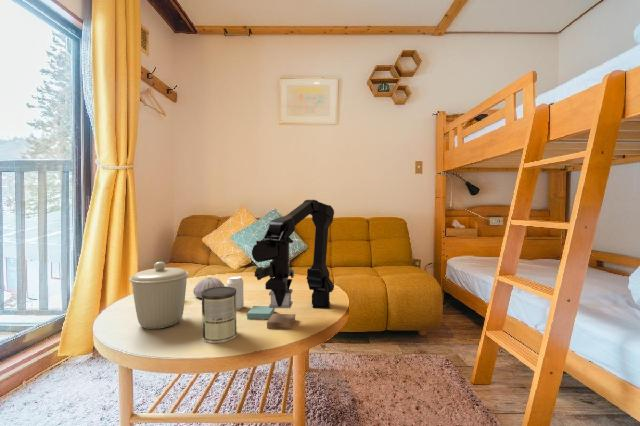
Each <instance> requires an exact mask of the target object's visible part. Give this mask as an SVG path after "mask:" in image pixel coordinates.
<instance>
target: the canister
mask: <svg viewBox="0 0 640 426" xmlns="http://www.w3.org/2000/svg"><path fill="white" fill-rule="evenodd" d="M189 274H190V272H188V271H187V270H184V268H180V267H166V263H165V262H164V261H157V262H155V263H153V268H150V269H144V270H141V271H138V272H136V273H134V274H133V275H132V276H130V277H129V278H128V281H130V283H131V287H132V295H133V301H134V307H135V312H136V318H137V322H138V324H139V325H140V327H142V328H144V329H147V330H148V329H149V330H150V329H151V330H152V329H153V330H154V329H156V330H157V329H164V328H168V327H172V326H174V325H176V324H177V323H179V322H180V321H181V320H182V318H183V315H184V309H185V300H186V292H187V291H186V290H187V279H188V278H187V277H189Z"/></svg>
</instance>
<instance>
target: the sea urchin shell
mask: <svg viewBox="0 0 640 426" xmlns="http://www.w3.org/2000/svg"><path fill="white" fill-rule="evenodd" d="M213 287H226V285H224V283H223V282H222V280H220V279H219V278H217V277H213V276H212V277H211V276H210V277H205V278H203V279H201V280H200V281H199V282H197V284H196V285H195V286H194V288H193V290H192V291H193V295H194V296H195V297H197V298H199V299H202V296H201V292H202V291H204V290H206V289H209V288H213Z"/></svg>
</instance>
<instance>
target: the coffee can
mask: <svg viewBox="0 0 640 426" xmlns="http://www.w3.org/2000/svg"><path fill="white" fill-rule="evenodd" d="M201 296H202V298H201V323H202V324H201V326H202V327H201V328H202V330H201V331H202V337H201V338H202V340H203V342H206V343H208V344H221V343H225V342H229V341H231V340H233V339H235V338H236V337H237V335H238V332H237V331H238V330H237V329H238V327H237V310H236V289H235V288H233V287H227V286H225V287H213V288H209V289H206V290H204V291H202V292H201Z"/></svg>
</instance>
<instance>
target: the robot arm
mask: <svg viewBox="0 0 640 426" xmlns="http://www.w3.org/2000/svg"><path fill="white" fill-rule="evenodd" d="M309 215H311V220H312V223H313V225H314V227H315V232H314V244H313V245H314V247H313V259H312V260H313V261H312V265H311V267H310V268H309V267H308V268H307V270H306V271H307V272H306V274H307V275H306V283H307V285H308V289H309V290H310V291H311V290H312V291H313V292H312V293H311V305H312V308H314V309H317V308H318V309H330V307H331V302H330V294H331V293H333V291H334V290H335V289H334V288H335V284H334V283H333V281H332V280H331V278H330V271H329V269H328V267H327V255H328V254H327V251H328V237H329V236H328V235H329V234H328V233H329V228H330V226H331V225H332V223H333V222H334V221H333V220H334V215H335V210H334V208H333V207H332V205H329V204H326V203H323V202H320V201H318V200H316V199H306V200H303V202H302V203H300V204H299V205H298V206H297V207H296V208H294V209H293V210H291V211H290V212H289V213H287V214H286V215H284V216H279V217H277V218H273V219H272V220H270V222H269V223H268V227H267V228H266V231H265V233H264V235H263V236H262V239H257V240H256V244H255V245H253V247H252V249H251V256H252V258H253V260H254V261H255V262H256V263H262V262H267V261H270V262H269V264H268V265H264V266H259V267H256V268H255V270H254V272H253V273H254V277H255V278H256V280H257V281H260V280H262V279H264V278H267V277H269V279H268V280H266V282H265V287H264V288H265V290H269V291H271V290H272V291H273V292H274V295H275V298H276V302H277V305H278V307H281V305H282V303H283V300H284V297H285V294H286V291H287V289H290V287H291V284H292V281H293V278H294V277H295V271H294V269H292V268H290V263H291V259H290V244H293V243H294V240H293V239H292V238H291V235H292V234H293V233H294V232H295V231H296V226H298V224H299V223H300V222H302V221H303V220H304V219H305V218H307V217H308V216H309ZM289 277H291V278H289Z"/></svg>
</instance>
